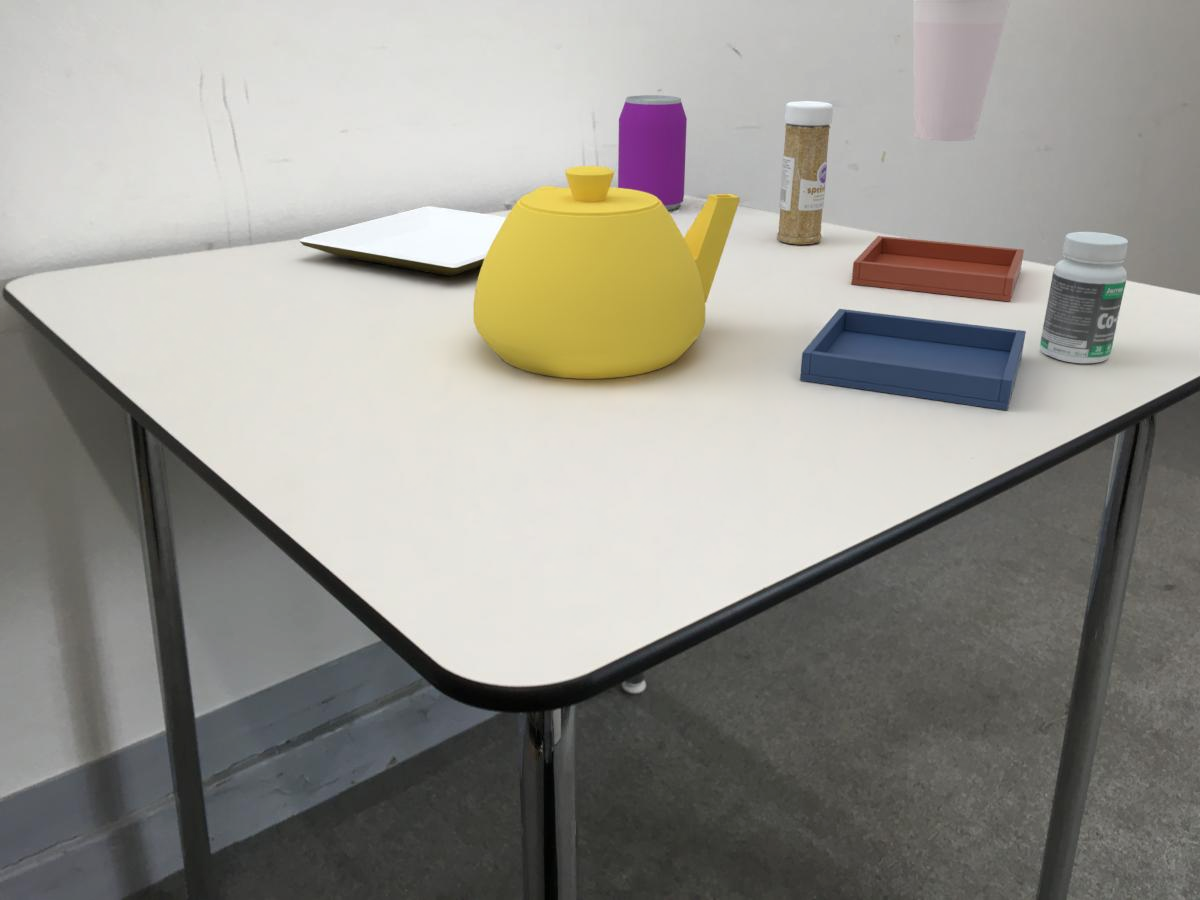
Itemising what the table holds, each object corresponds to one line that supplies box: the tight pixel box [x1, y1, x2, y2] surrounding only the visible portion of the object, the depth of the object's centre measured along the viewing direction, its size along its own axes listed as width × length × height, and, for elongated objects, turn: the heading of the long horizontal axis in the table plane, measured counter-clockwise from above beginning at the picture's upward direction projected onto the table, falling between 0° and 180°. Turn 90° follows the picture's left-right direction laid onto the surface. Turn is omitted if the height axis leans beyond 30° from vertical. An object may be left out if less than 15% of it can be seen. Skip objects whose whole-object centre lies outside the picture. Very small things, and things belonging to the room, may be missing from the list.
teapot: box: [473, 165, 741, 380], centre depth 78 cm, size 20×19×13 cm
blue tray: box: [799, 308, 1027, 411], centre depth 75 cm, size 13×11×2 cm
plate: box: [298, 205, 507, 277], centre depth 105 cm, size 19×19×2 cm
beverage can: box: [617, 94, 688, 211], centre depth 124 cm, size 8×8×12 cm
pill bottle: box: [1039, 231, 1129, 364], centre depth 77 cm, size 5×5×8 cm
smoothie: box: [912, 0, 1011, 142], centre depth 66 cm, size 6×6×14 cm
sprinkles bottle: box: [776, 100, 834, 246], centre depth 108 cm, size 5×5×13 cm
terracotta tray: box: [850, 235, 1025, 302], centre depth 97 cm, size 13×11×2 cm
